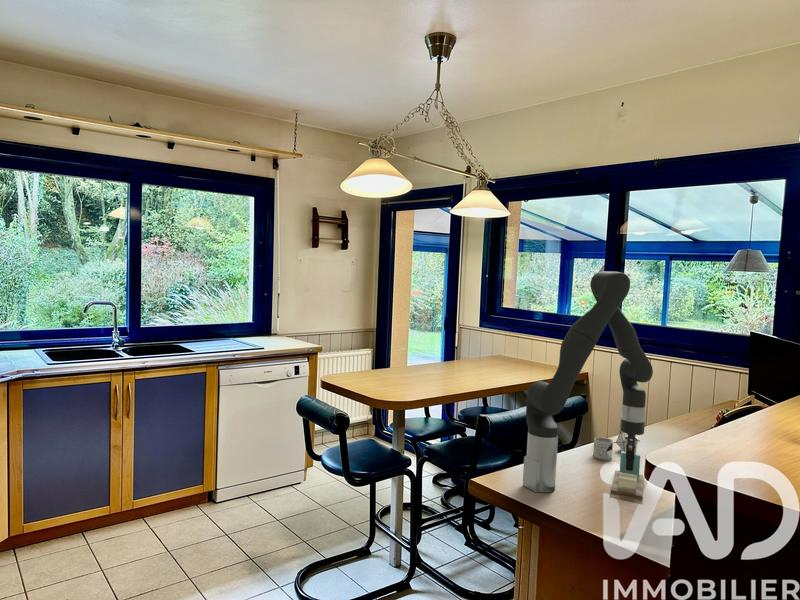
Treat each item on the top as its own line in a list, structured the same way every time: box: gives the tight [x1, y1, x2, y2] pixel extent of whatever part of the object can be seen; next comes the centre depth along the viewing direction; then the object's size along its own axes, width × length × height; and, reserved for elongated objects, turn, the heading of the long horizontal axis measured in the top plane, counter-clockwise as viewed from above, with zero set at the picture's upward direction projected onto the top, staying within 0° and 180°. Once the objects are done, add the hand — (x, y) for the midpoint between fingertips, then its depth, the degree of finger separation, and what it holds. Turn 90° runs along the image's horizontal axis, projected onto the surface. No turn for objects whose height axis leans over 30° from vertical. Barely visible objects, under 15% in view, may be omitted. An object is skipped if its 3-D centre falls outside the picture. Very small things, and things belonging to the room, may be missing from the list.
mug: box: [592, 436, 614, 461], centre depth 198 cm, size 10×7×7 cm, turn 151°
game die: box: [613, 430, 641, 452], centre depth 204 cm, size 9×8×10 cm
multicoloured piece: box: [609, 450, 645, 505], centre depth 166 cm, size 26×9×8 cm, turn 154°
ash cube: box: [618, 472, 637, 494], centre depth 160 cm, size 5×5×5 cm
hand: (629, 468), depth 177 cm, fingers closed on multicoloured piece, 2 cm apart
